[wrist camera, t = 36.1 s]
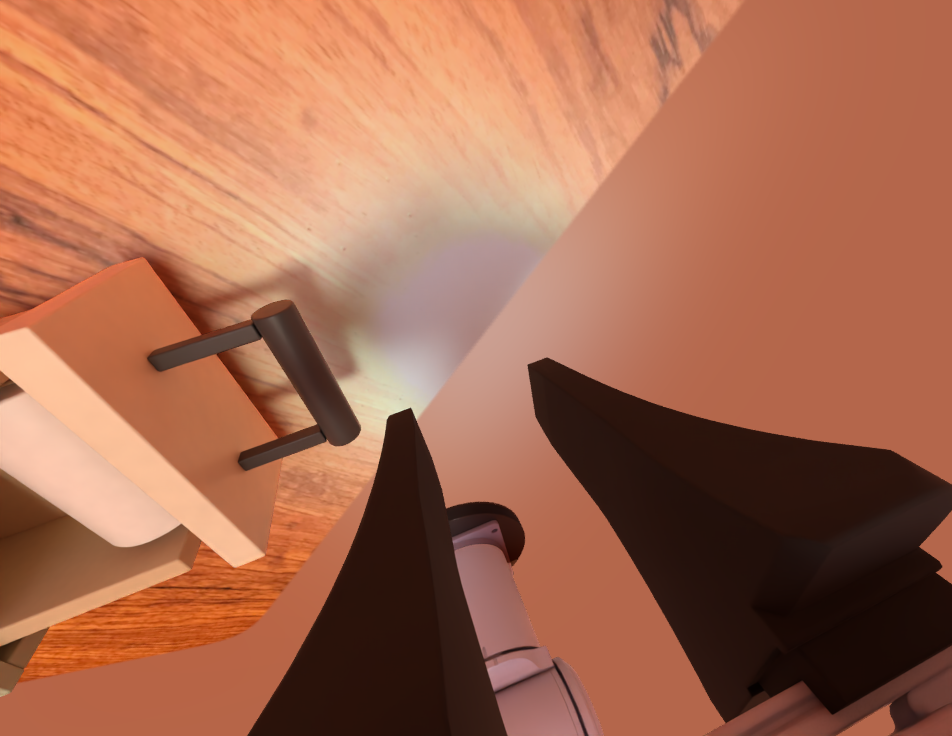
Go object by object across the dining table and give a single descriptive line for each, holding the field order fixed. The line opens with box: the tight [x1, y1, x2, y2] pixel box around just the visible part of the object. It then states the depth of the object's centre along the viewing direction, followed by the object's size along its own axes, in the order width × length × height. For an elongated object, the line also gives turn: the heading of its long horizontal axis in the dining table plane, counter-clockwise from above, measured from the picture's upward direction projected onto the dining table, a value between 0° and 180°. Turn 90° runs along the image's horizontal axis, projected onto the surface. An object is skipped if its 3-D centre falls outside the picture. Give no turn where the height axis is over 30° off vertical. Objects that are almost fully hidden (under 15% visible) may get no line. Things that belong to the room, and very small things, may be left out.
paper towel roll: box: [0, 379, 182, 547], centre depth 13 cm, size 4×7×4 cm, turn 12°
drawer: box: [0, 257, 361, 646], centre depth 13 cm, size 17×10×6 cm, turn 103°
